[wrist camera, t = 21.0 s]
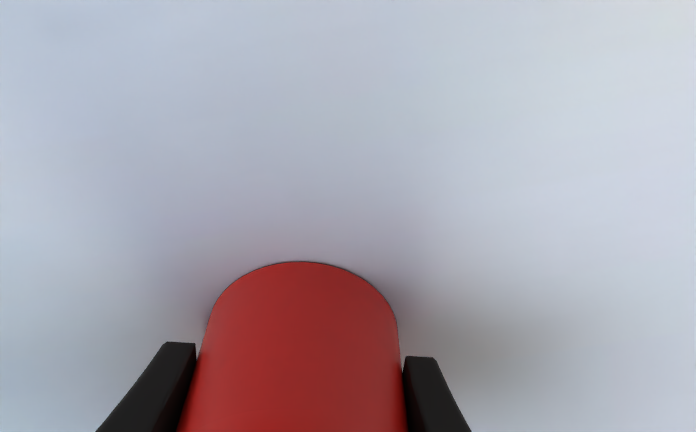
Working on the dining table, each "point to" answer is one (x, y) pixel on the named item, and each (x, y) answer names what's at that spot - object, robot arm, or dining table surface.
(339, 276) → the red pepper
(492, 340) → the dining table surface
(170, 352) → the robot arm
